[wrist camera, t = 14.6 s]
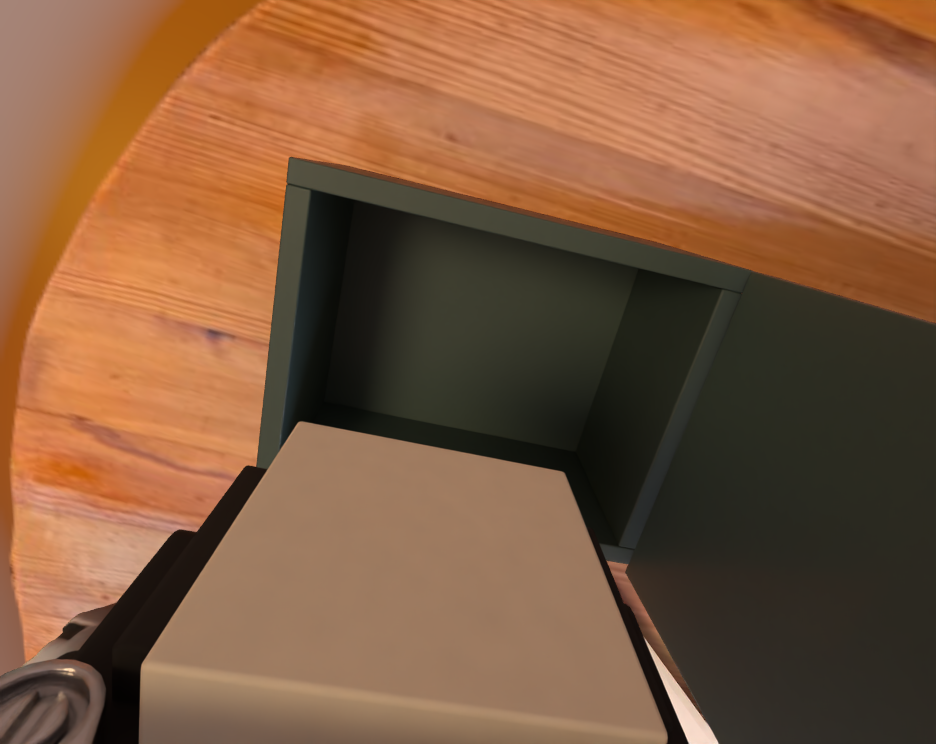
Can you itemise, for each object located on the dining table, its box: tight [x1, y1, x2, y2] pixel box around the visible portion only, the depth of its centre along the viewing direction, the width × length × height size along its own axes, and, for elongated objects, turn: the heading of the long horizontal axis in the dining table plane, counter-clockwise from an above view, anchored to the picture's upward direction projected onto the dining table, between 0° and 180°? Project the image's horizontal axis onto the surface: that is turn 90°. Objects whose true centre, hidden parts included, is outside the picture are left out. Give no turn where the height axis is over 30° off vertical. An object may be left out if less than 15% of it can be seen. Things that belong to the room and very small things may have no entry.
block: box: [139, 421, 668, 744], centre depth 8 cm, size 5×5×5 cm
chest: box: [256, 157, 753, 564], centre depth 23 cm, size 16×13×9 cm
